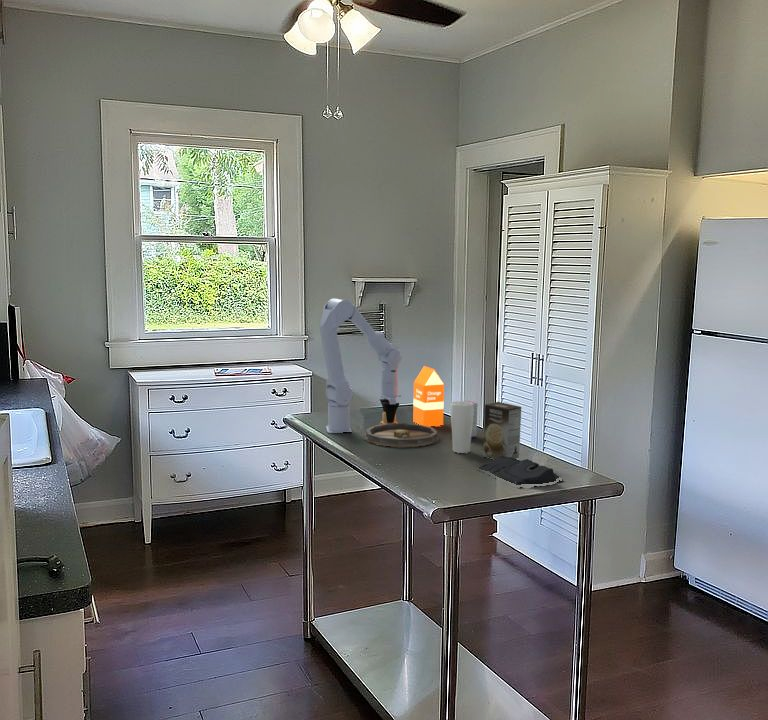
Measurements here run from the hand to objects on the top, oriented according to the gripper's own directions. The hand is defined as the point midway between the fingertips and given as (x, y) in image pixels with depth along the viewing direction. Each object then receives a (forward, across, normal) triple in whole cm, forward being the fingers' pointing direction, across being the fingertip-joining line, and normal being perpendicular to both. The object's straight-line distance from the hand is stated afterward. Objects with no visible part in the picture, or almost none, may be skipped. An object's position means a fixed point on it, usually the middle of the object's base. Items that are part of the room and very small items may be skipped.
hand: (389, 420), depth 271 cm
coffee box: (+2, -47, -26) cm, 54 cm away
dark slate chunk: (+2, -64, -25) cm, 69 cm away
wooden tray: (+2, -19, -1) cm, 19 cm away
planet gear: (+2, 0, 0) cm, 2 cm away
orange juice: (+2, +1, -14) cm, 14 cm away
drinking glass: (+2, -38, -16) cm, 41 cm away
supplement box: (+2, -19, -22) cm, 29 cm away
